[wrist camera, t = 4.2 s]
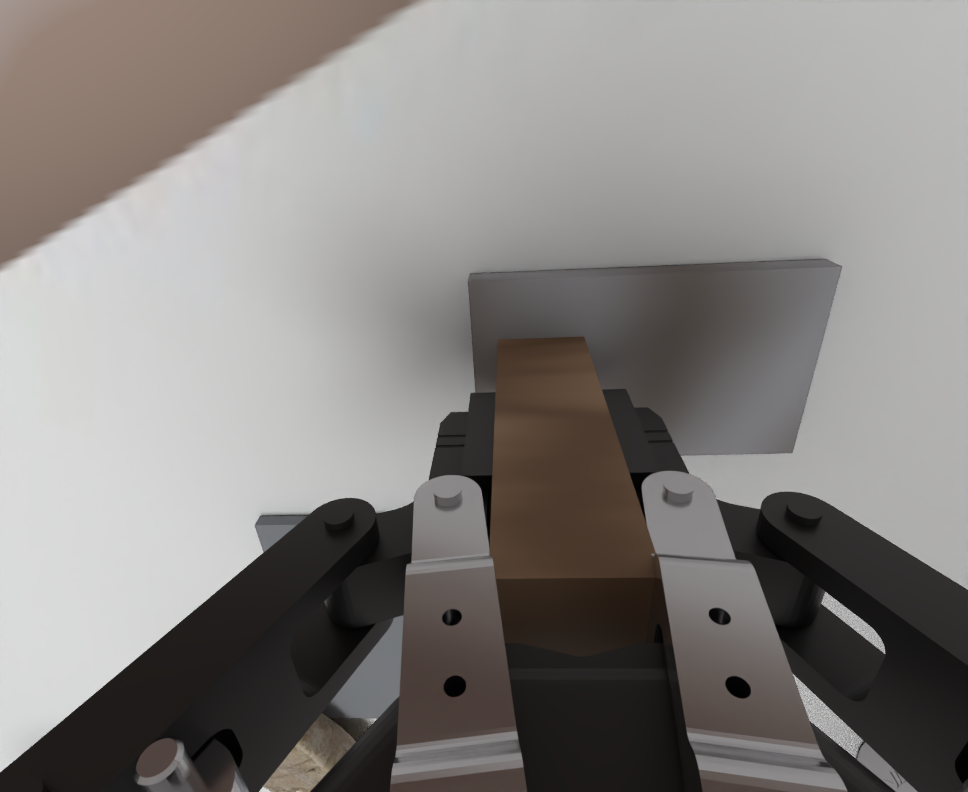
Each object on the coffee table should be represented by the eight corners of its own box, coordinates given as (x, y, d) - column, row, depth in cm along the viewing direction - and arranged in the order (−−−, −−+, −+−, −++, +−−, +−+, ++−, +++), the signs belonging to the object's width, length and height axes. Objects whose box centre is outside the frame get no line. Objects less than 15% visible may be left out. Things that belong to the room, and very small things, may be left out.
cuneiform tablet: (205, 729, 20) (389, 869, 24) (261, 634, 23) (414, 775, 27) (114, 739, 22) (298, 864, 27) (176, 652, 25) (331, 778, 30)
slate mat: (635, 510, 20) (638, 519, 19) (614, 708, 25) (616, 719, 25) (260, 516, 20) (254, 525, 20) (322, 707, 26) (318, 717, 26)
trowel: (481, 446, 18) (458, 745, 10) (469, 273, 16) (424, 482, 7) (781, 439, 18) (1036, 751, 9) (826, 258, 15) (1256, 467, 6)
